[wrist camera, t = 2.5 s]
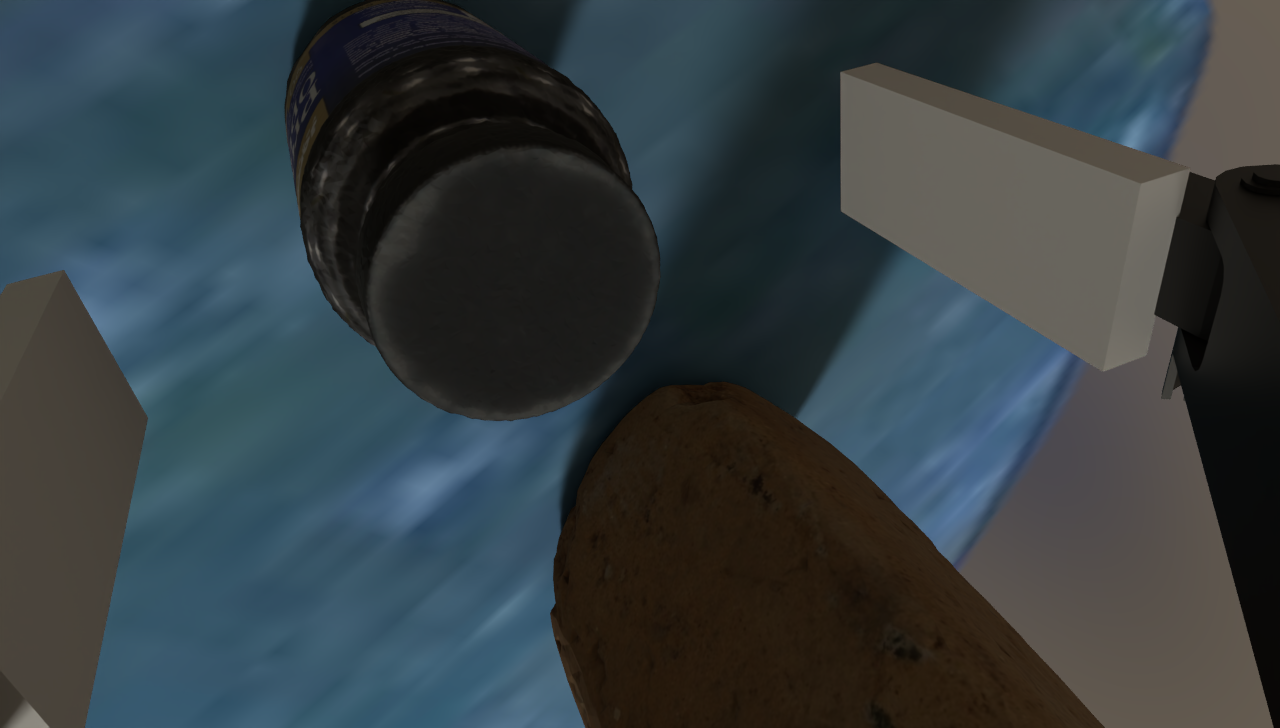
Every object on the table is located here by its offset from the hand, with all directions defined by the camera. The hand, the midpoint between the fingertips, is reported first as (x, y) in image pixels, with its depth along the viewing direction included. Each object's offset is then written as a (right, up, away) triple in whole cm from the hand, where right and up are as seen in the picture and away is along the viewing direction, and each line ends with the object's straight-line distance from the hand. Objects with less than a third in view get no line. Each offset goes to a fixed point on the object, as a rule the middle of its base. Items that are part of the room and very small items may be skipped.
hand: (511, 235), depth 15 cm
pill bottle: (-4, +4, +8) cm, 9 cm away
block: (+3, -7, +17) cm, 18 cm away
